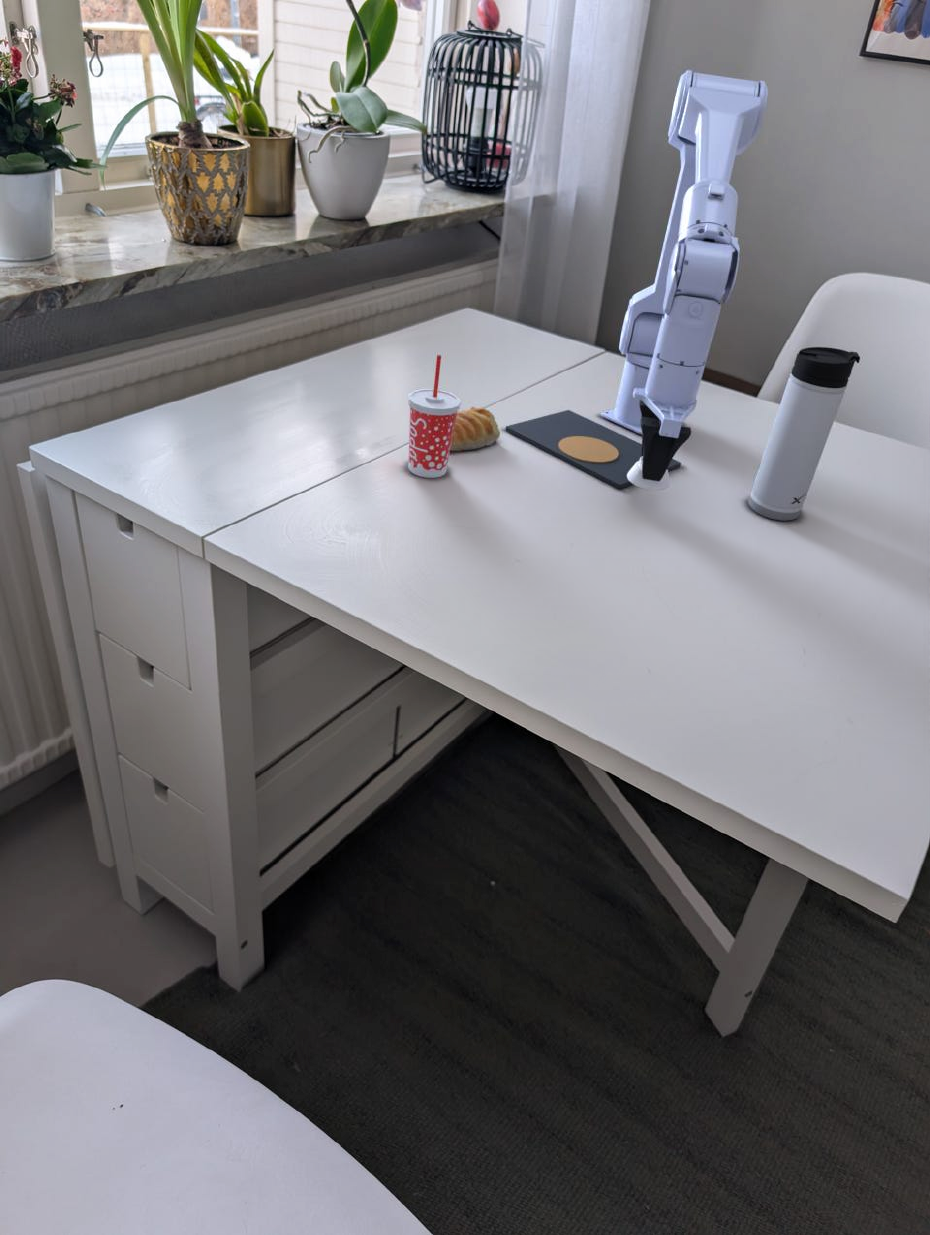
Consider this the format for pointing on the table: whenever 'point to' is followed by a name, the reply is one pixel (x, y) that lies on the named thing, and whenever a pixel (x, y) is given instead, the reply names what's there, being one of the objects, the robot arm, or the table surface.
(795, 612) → the table surface
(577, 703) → the table surface
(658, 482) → the lidless jar
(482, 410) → the pastry
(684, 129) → the robot arm
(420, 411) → the beverage cup
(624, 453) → the mat
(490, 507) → the table surface
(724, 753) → the table surface
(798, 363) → the travel mug
